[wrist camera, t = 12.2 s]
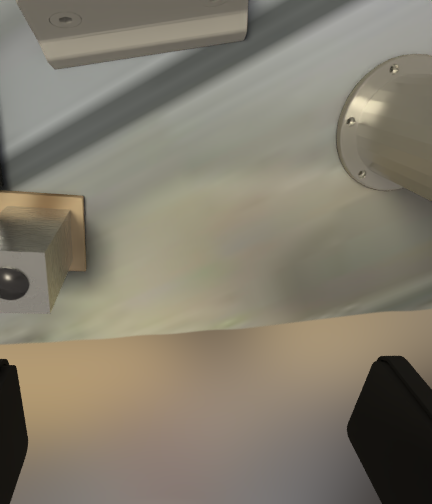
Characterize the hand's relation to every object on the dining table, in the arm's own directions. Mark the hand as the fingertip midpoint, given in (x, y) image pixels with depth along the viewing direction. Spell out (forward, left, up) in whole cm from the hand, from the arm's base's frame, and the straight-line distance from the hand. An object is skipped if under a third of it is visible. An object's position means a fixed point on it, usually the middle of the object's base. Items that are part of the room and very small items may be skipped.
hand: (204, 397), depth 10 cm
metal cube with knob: (+12, +9, -28) cm, 31 cm away
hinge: (+3, -12, -29) cm, 31 cm away
